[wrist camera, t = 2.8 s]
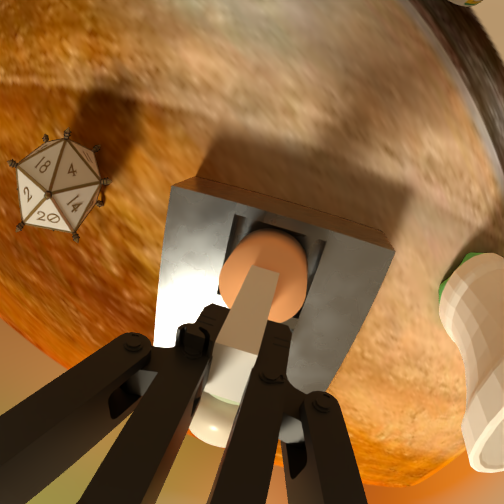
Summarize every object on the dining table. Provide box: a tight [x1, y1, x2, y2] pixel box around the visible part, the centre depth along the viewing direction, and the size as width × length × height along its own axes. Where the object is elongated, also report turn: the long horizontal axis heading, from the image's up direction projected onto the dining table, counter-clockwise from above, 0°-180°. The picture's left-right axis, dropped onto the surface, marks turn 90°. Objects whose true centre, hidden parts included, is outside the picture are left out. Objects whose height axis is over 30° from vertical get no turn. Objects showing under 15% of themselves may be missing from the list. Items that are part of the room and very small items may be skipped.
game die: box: [7, 127, 112, 243], centre depth 20 cm, size 9×8×10 cm
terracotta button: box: [219, 228, 308, 323], centre depth 18 cm, size 5×5×3 cm
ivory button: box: [189, 390, 239, 448], centre depth 22 cm, size 5×5×3 cm
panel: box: [154, 177, 395, 394], centre depth 23 cm, size 14×20×4 cm
